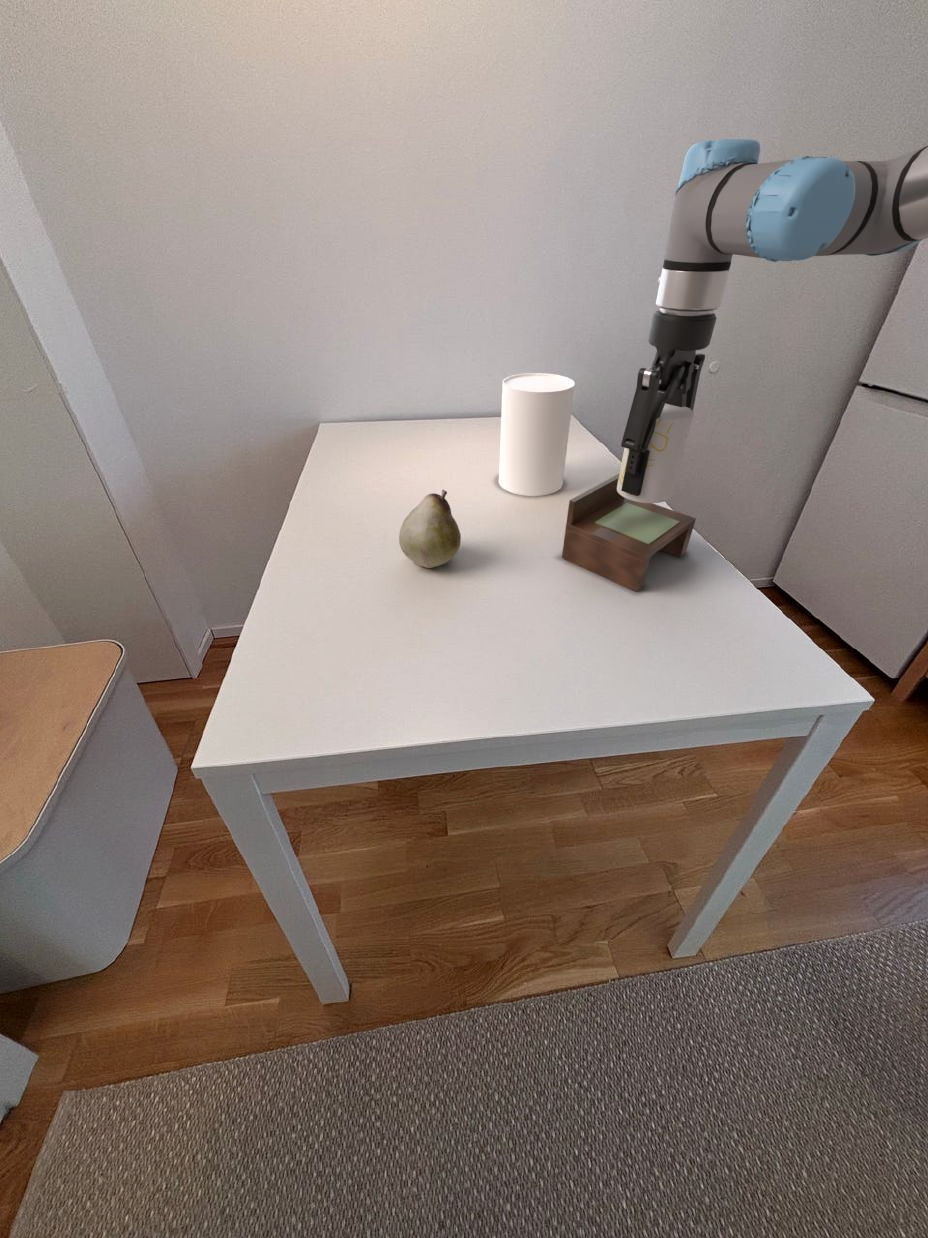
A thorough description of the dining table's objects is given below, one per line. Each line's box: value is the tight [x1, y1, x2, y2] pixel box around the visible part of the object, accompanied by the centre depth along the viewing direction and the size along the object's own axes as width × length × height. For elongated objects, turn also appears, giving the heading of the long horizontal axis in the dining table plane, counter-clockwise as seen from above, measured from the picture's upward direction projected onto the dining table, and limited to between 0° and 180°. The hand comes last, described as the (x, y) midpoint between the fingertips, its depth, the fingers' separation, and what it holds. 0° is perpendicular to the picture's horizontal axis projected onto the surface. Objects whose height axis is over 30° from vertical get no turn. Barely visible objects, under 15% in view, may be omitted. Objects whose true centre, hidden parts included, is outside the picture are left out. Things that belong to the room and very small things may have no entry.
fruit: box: [398, 489, 462, 569], centre depth 82 cm, size 10×9×12 cm
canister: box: [498, 372, 576, 497], centre depth 104 cm, size 14×14×20 cm
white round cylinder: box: [617, 403, 694, 504], centre depth 75 cm, size 8×8×12 cm
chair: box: [561, 472, 697, 593], centre depth 84 cm, size 14×16×10 cm
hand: (646, 483), depth 78 cm, fingers closed on white round cylinder, 8 cm apart
